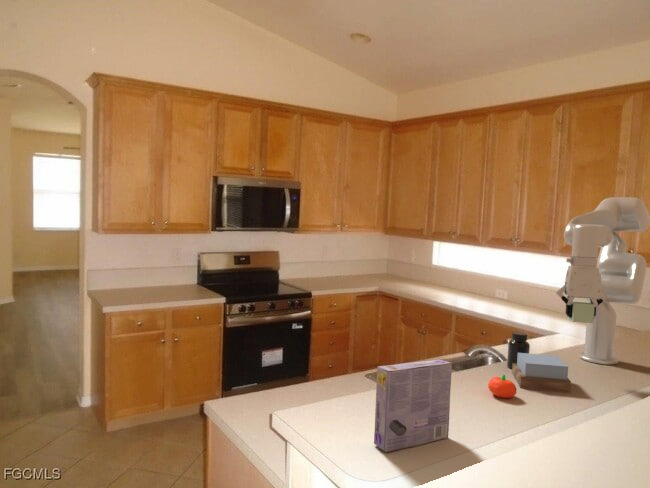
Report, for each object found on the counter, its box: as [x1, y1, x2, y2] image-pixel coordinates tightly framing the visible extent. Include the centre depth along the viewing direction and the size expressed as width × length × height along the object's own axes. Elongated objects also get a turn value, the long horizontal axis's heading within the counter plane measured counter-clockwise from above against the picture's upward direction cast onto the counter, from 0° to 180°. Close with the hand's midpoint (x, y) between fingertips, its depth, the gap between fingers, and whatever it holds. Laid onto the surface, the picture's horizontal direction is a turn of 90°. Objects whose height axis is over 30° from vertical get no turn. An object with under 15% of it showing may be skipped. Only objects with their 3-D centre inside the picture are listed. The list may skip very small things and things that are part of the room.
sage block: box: [567, 300, 595, 324], centre depth 158 cm, size 6×6×6 cm
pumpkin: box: [487, 374, 517, 399], centre depth 140 cm, size 7×8×6 cm
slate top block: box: [517, 352, 569, 380], centre depth 152 cm, size 12×12×4 cm
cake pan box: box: [373, 359, 453, 454], centre depth 109 cm, size 19×5×18 cm, turn 118°
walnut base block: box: [511, 363, 572, 393], centre depth 152 cm, size 14×14×4 cm
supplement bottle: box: [506, 331, 531, 370], centre depth 167 cm, size 7×7×12 cm
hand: (580, 317), depth 158 cm, fingers closed on sage block, 6 cm apart
